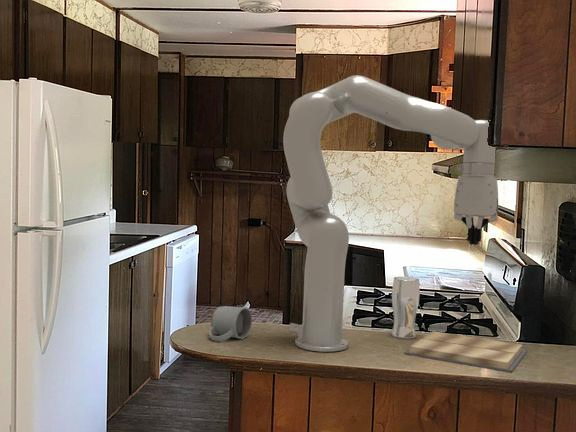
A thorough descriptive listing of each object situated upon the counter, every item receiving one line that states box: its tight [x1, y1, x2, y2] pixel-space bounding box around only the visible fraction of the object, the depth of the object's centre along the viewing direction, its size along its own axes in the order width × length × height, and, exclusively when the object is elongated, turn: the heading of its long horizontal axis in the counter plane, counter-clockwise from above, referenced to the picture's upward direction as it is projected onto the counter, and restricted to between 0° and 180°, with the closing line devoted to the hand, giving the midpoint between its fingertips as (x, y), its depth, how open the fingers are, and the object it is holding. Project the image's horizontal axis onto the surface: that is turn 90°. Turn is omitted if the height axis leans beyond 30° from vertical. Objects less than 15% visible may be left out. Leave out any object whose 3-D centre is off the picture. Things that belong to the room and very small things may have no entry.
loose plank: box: [421, 330, 523, 359], centre depth 159 cm, size 22×9×2 cm, turn 61°
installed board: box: [408, 338, 515, 369], centre depth 151 cm, size 22×9×2 cm, turn 61°
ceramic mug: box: [208, 305, 253, 343], centre depth 161 cm, size 11×8×8 cm
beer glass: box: [391, 276, 420, 340], centre depth 170 cm, size 7×7×15 cm
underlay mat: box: [404, 349, 528, 374], centre depth 155 cm, size 24×20×1 cm
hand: (474, 244), depth 163 cm, fingers closed
